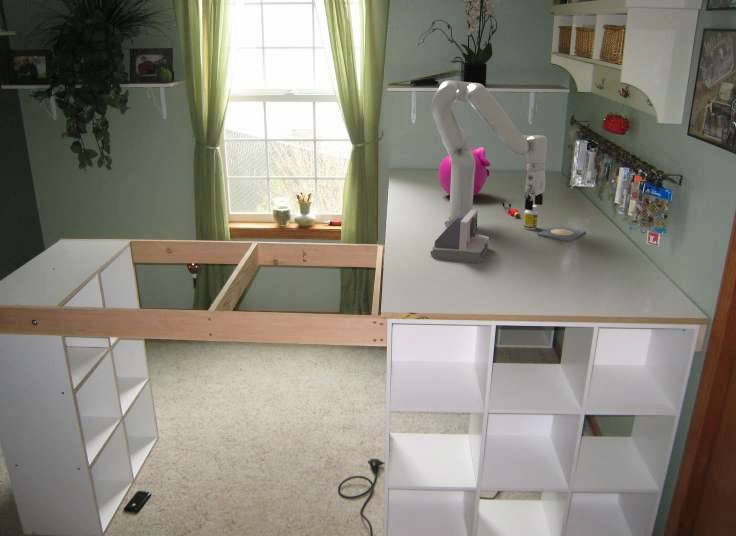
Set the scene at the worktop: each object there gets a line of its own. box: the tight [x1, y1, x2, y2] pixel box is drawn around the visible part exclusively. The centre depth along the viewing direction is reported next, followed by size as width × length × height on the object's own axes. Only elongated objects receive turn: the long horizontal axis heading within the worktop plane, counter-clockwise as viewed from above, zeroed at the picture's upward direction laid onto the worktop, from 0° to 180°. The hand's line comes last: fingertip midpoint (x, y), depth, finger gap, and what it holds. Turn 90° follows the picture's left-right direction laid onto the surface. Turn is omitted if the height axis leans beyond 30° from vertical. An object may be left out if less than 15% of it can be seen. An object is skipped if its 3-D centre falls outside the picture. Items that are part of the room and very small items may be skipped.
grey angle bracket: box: [430, 209, 490, 264], centre depth 243 cm, size 21×21×15 cm
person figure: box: [501, 202, 521, 219], centre depth 299 cm, size 5×4×18 cm
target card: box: [537, 224, 587, 243], centre depth 269 cm, size 16×14×1 cm
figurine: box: [438, 144, 491, 197], centre depth 324 cm, size 23×24×25 cm
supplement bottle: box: [522, 204, 539, 231], centre depth 275 cm, size 5×5×10 cm
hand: (533, 207), depth 274 cm, fingers open, 9 cm apart
